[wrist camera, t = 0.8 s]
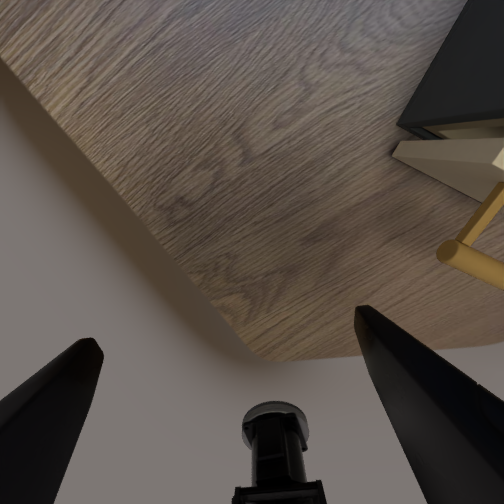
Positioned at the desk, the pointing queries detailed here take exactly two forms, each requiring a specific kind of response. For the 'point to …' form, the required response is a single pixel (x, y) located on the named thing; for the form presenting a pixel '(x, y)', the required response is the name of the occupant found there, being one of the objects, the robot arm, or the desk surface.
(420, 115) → the cabinet
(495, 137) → the drawer
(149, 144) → the desk surface
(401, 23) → the desk surface
